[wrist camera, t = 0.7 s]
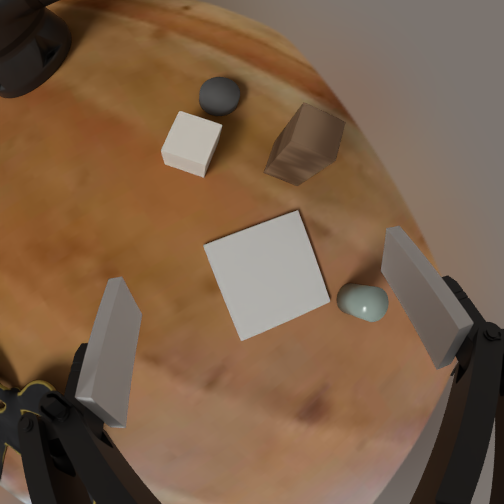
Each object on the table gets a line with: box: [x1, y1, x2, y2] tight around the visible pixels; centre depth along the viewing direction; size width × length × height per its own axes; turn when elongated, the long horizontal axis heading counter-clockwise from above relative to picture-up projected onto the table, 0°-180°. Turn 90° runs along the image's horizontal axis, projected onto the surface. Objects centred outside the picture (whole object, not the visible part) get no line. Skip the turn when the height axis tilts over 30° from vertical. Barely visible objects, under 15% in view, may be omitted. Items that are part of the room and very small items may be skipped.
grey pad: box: [203, 210, 330, 341], centre depth 36 cm, size 12×12×1 cm
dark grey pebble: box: [199, 77, 240, 116], centre depth 35 cm, size 5×5×2 cm
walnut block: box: [264, 103, 345, 186], centre depth 32 cm, size 4×4×11 cm
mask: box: [0, 380, 96, 504], centre depth 27 cm, size 25×6×30 cm
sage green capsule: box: [337, 283, 388, 322], centre depth 36 cm, size 4×4×6 cm
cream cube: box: [161, 111, 222, 177], centre depth 33 cm, size 5×5×5 cm
